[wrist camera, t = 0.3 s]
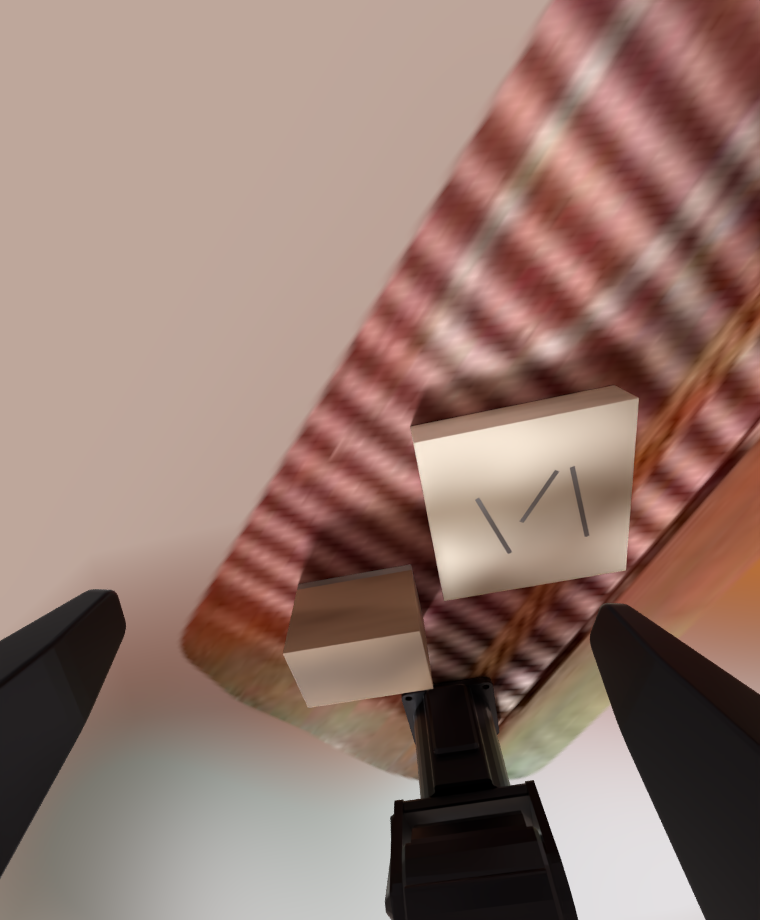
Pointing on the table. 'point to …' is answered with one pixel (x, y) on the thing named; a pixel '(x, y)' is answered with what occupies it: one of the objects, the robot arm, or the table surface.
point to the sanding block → (358, 637)
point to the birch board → (529, 491)
